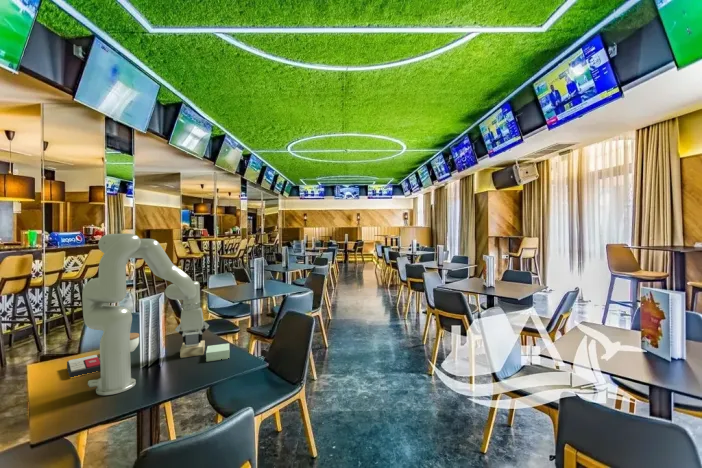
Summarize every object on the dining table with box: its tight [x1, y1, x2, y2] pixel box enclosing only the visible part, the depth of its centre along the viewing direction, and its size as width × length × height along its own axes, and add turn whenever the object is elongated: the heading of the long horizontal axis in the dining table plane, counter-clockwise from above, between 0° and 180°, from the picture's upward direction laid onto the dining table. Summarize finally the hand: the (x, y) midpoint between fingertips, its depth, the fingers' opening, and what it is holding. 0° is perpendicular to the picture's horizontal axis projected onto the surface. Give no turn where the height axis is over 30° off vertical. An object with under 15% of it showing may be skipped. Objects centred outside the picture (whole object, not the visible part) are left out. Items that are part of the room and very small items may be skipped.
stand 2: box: [205, 342, 230, 363], centre depth 160 cm, size 10×10×4 cm
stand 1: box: [179, 339, 206, 359], centre depth 166 cm, size 10×10×4 cm
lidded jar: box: [130, 332, 140, 353], centre depth 170 cm, size 11×11×9 cm
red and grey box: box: [66, 354, 101, 377], centre depth 148 cm, size 11×4×15 cm
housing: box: [185, 330, 200, 348], centre depth 166 cm, size 6×6×8 cm
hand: (192, 342), depth 166 cm, fingers closed on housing, 5 cm apart
